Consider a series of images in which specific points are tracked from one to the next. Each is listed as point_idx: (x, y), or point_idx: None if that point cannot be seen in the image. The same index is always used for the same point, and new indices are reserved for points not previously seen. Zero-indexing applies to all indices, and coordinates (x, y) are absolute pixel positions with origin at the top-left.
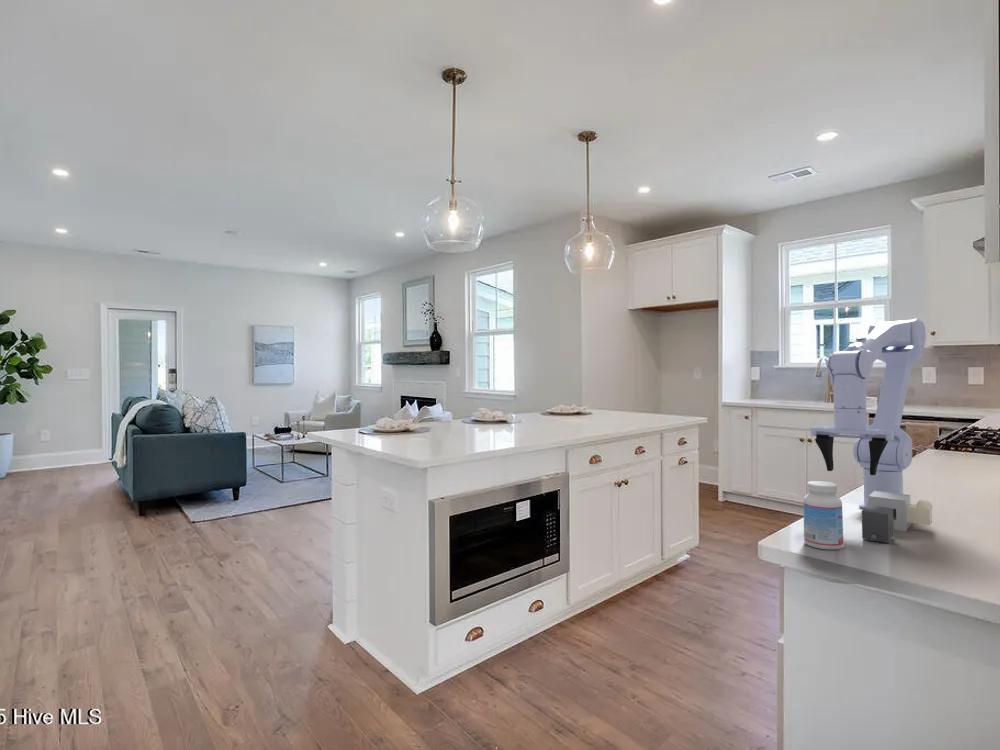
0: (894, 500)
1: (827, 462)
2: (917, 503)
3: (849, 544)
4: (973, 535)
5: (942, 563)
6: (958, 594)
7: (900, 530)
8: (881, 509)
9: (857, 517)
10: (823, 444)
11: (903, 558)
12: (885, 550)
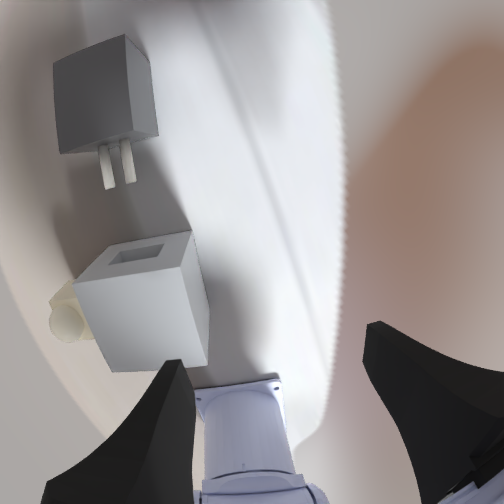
0: (99, 276)
1: (403, 339)
2: (72, 319)
3: (165, 11)
4: (40, 316)
5: (11, 63)
6: None
7: (120, 244)
8: (80, 106)
9: (250, 296)
10: (492, 392)
11: (59, 24)
12: (92, 37)
